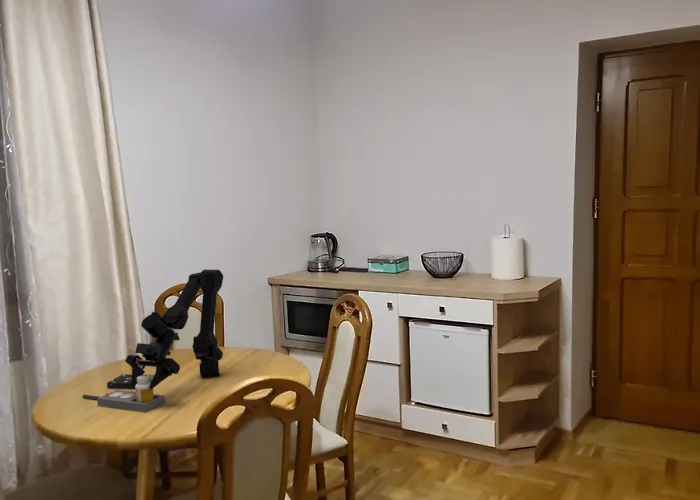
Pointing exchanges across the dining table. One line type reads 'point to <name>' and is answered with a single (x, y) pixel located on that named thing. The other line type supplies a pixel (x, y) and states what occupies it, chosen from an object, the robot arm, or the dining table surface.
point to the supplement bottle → (143, 389)
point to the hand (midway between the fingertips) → (141, 387)
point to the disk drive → (123, 382)
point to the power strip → (126, 401)
